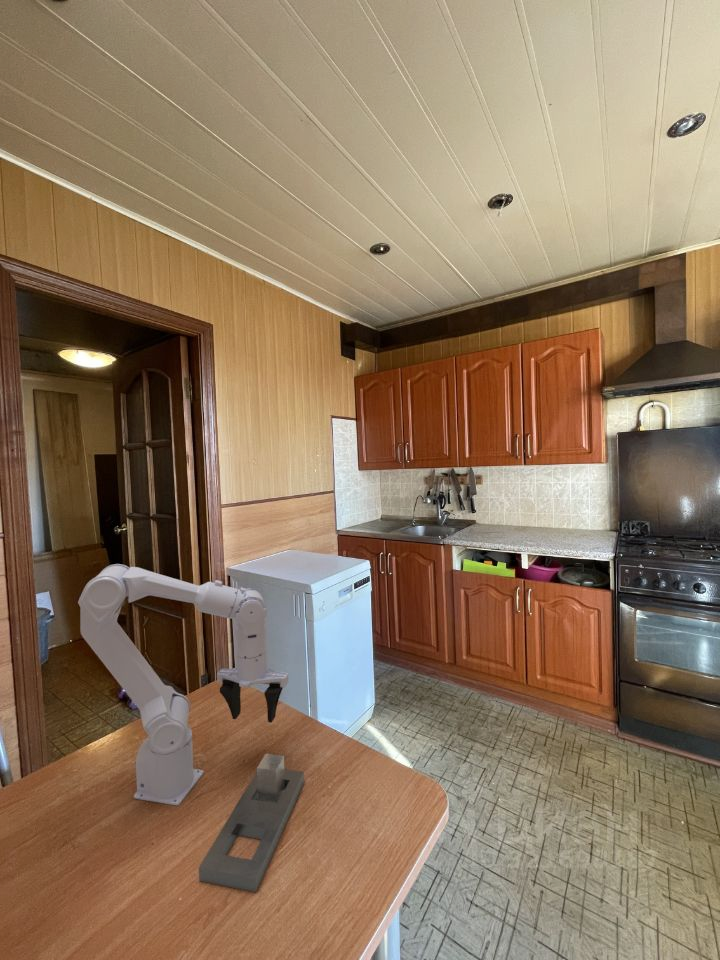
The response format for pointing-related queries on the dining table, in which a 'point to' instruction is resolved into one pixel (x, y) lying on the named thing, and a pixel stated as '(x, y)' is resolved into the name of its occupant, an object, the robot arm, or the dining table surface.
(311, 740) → the dining table surface
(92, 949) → the dining table surface
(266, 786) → the grey square peg
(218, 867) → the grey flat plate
